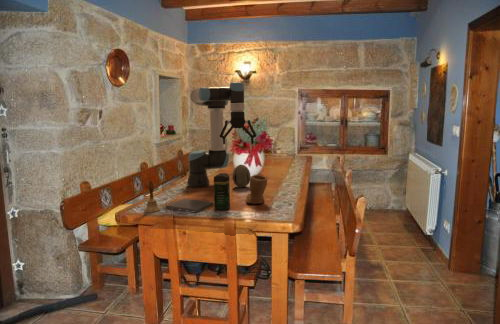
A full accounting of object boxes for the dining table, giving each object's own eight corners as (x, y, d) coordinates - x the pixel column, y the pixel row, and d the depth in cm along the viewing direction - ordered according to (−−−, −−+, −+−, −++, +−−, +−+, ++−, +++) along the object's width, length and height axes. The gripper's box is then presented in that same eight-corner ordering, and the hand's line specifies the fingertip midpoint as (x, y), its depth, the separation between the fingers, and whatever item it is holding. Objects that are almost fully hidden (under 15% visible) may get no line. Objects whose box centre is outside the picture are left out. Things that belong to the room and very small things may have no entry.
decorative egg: (254, 186, 251) (254, 164, 248) (241, 190, 242) (241, 166, 240) (241, 184, 259) (241, 162, 256) (229, 187, 250) (228, 164, 248)
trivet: (165, 208, 204) (165, 205, 204) (183, 201, 218) (183, 198, 218) (196, 212, 195) (196, 209, 195) (213, 204, 209) (213, 202, 209)
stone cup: (267, 205, 206) (266, 178, 204) (245, 205, 207) (244, 178, 205) (268, 198, 221) (267, 172, 218) (247, 198, 222) (247, 172, 219)
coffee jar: (227, 211, 197) (226, 175, 194) (212, 210, 198) (211, 175, 195) (231, 205, 206) (230, 172, 203) (217, 205, 207) (216, 171, 204)
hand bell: (145, 208, 204) (143, 179, 202) (161, 207, 205) (159, 178, 202) (142, 212, 196) (140, 182, 194) (159, 212, 197) (157, 181, 194)
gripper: (213, 111, 205) (214, 151, 208) (259, 110, 202) (260, 150, 205) (216, 111, 212) (217, 149, 216) (261, 110, 210) (261, 149, 213)
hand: (238, 150), depth 211 cm, fingers open, 13 cm apart
